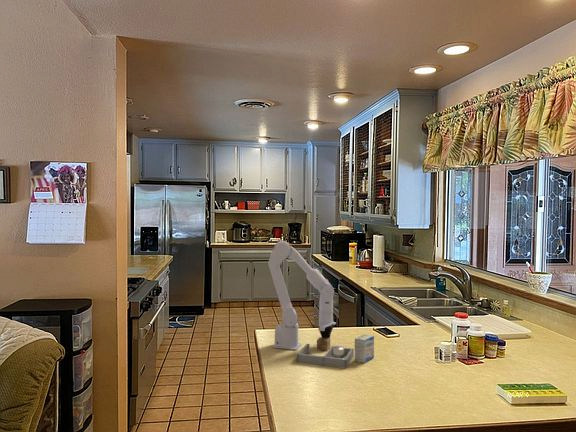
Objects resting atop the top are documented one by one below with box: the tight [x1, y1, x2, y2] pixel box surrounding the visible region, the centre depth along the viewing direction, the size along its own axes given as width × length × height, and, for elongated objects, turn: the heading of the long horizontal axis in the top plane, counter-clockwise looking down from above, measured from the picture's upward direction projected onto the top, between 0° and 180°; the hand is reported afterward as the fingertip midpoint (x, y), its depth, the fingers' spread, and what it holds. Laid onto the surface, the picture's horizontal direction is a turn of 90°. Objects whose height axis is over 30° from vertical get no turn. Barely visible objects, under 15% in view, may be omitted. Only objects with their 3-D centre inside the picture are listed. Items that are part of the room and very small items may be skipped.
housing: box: [296, 343, 355, 369], centre depth 174 cm, size 19×14×3 cm
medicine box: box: [354, 333, 375, 364], centre depth 175 cm, size 8×4×9 cm, turn 143°
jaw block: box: [316, 336, 331, 352], centre depth 187 cm, size 4×4×4 cm
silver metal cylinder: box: [332, 345, 345, 359], centre depth 173 cm, size 4×4×5 cm
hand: (325, 343), depth 191 cm, fingers closed
